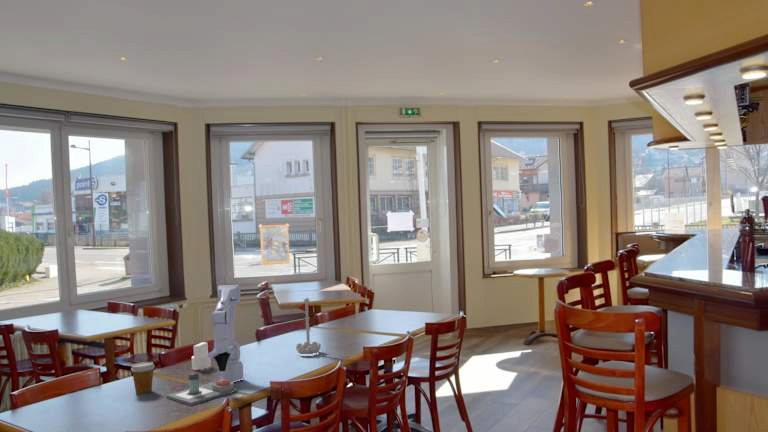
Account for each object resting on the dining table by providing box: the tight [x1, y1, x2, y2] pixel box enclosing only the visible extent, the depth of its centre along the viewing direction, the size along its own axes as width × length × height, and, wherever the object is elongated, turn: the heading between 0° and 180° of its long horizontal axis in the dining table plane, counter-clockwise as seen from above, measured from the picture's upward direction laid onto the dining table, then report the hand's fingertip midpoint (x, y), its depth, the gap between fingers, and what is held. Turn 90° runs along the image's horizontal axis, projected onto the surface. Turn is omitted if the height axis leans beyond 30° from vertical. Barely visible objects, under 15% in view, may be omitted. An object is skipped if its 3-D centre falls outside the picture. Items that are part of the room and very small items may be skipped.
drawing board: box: [166, 381, 238, 407], centre depth 246 cm, size 22×18×3 cm
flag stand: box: [295, 297, 322, 354], centre depth 311 cm, size 13×13×30 cm
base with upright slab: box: [191, 341, 212, 371], centre depth 290 cm, size 9×9×12 cm
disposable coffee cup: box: [130, 361, 155, 395], centre depth 254 cm, size 10×10×12 cm
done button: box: [215, 379, 230, 387], centre depth 249 cm, size 4×4×3 cm
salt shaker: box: [187, 372, 200, 394], centre depth 245 cm, size 4×4×8 cm
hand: (222, 370), depth 248 cm, fingers closed
